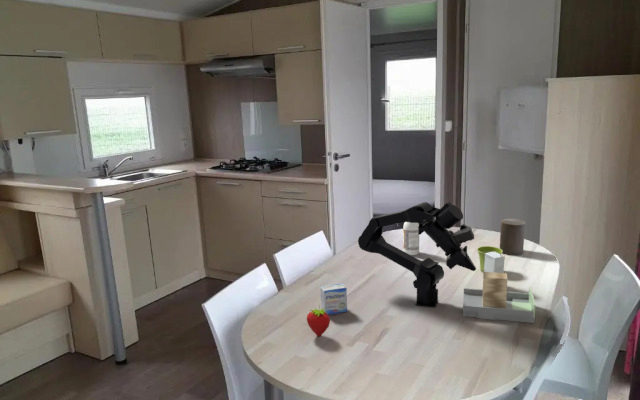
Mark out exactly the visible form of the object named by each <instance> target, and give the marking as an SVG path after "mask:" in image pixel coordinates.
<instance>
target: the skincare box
mask: <svg viewBox="0 0 640 400" xmlns="http://www.w3.org/2000/svg"><path fill="white" fill-rule="evenodd" d="M505 258H506V257H505V256H503V255H502V254H501V255H500V254H498V253H496V252H488V253H485V262H484V272H495V273H504V269H505Z"/></svg>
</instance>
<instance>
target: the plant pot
mask: <svg viewBox="0 0 640 400" xmlns="http://www.w3.org/2000/svg"><path fill="white" fill-rule="evenodd" d="M476 251H477V253H478V257H479V258H478V259H479V266H480V267H479V269H480V271H481V272H482V273H483V272H484V262H485V253H488V252H496V253H498V254H500V255H502V254H503V253H502V252H503V251H502V250H501V249H500V247H495V246H492V245H491V246H490V245H486V246H485V245H484V246H483V245H482V246H479V247H477V249H476Z"/></svg>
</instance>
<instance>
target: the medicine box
mask: <svg viewBox="0 0 640 400" xmlns="http://www.w3.org/2000/svg"><path fill="white" fill-rule="evenodd" d="M347 289H348V288H347V287H346V286H345V284H344V283H338V284H329V285H324V286H320V309H324V310H323V311H325V312H327V313H326V314H327V315H328V316H331V315H335V314H342V313H346V312H348V295H347V293H348V292H347Z"/></svg>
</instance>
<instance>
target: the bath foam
mask: <svg viewBox="0 0 640 400" xmlns="http://www.w3.org/2000/svg"><path fill="white" fill-rule="evenodd" d="M419 225H420V223H410V222H403V228H402V230H403V232H402V233H403V235H402V239H403V241H402V242H403V243H402V244H403V246H402V251H404V252H406V253H407V254H409V255H411V256H417V255H419V254H420V235H419V234H418V231H419V229H418V226H419Z"/></svg>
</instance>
